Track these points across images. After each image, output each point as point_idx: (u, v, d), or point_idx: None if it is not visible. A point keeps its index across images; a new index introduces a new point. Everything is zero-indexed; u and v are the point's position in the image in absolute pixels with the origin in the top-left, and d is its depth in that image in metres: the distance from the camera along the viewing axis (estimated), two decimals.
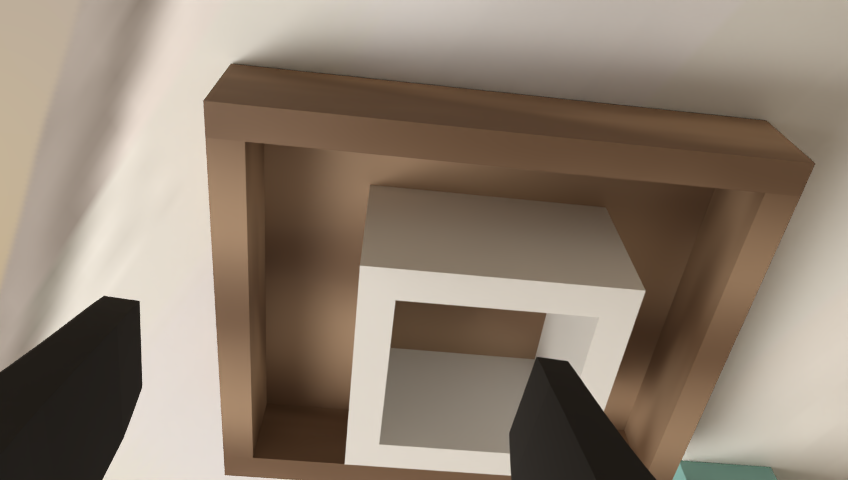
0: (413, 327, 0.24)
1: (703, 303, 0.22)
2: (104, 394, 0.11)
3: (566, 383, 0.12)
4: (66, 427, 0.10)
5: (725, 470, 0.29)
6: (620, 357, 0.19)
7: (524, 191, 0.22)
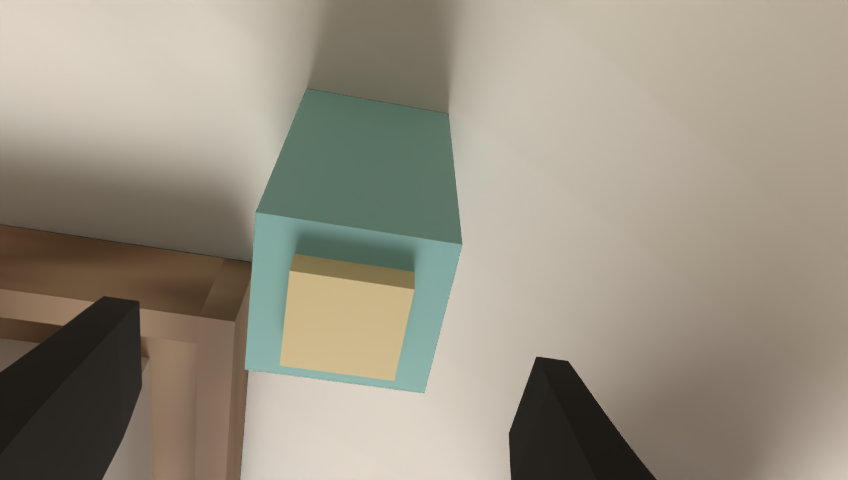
0: None
1: None
2: (104, 394, 0.11)
3: (566, 383, 0.12)
4: (66, 427, 0.10)
5: None
6: None
7: None
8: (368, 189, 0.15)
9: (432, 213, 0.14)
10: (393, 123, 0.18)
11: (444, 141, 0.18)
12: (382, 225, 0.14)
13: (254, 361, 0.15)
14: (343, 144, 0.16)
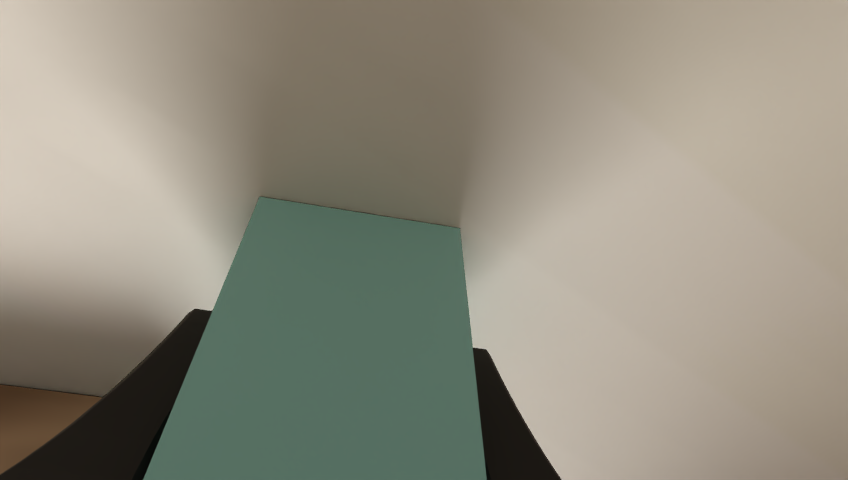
0: None
1: None
2: None
3: (477, 371, 0.11)
4: None
5: None
6: None
7: None
8: (337, 410, 0.09)
9: (442, 460, 0.09)
10: (382, 254, 0.13)
11: (455, 285, 0.12)
12: None
13: None
14: (304, 307, 0.11)
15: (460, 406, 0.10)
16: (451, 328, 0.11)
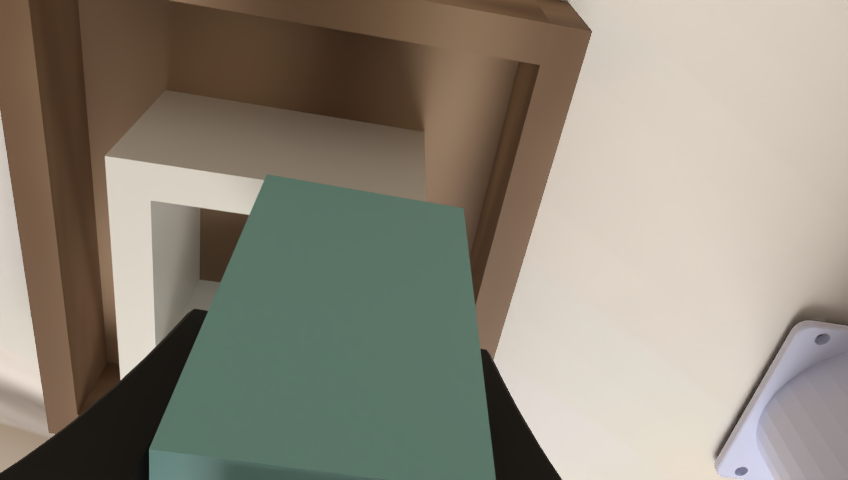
0: None
1: None
2: None
3: None
4: None
5: None
6: (211, 170, 0.16)
7: None
8: (344, 373, 0.09)
9: (447, 421, 0.09)
10: (387, 230, 0.13)
11: (460, 261, 0.12)
12: (364, 458, 0.08)
13: None
14: (311, 277, 0.11)
15: (465, 372, 0.10)
16: (455, 300, 0.11)
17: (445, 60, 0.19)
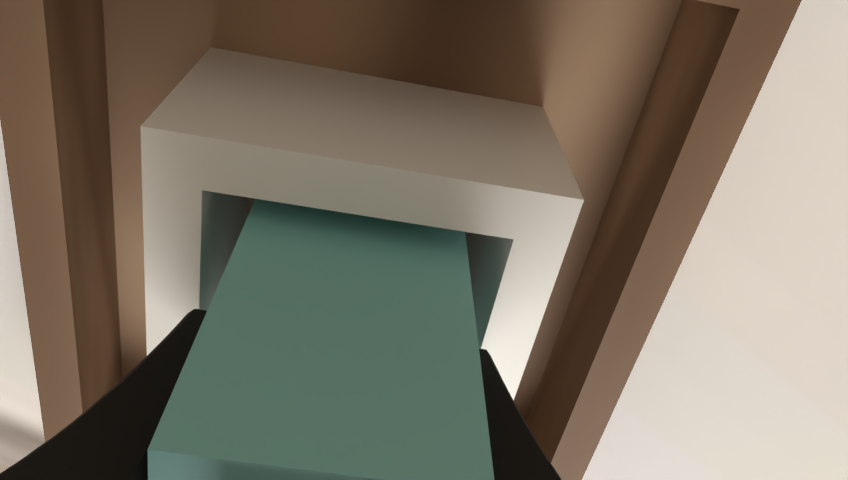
0: None
1: None
2: None
3: None
4: None
5: None
6: (290, 148, 0.11)
7: None
8: (343, 373, 0.09)
9: (445, 421, 0.09)
10: (386, 231, 0.13)
11: (458, 261, 0.12)
12: (363, 459, 0.08)
13: None
14: (310, 278, 0.11)
15: (463, 372, 0.10)
16: (454, 300, 0.11)
17: (580, 11, 0.15)
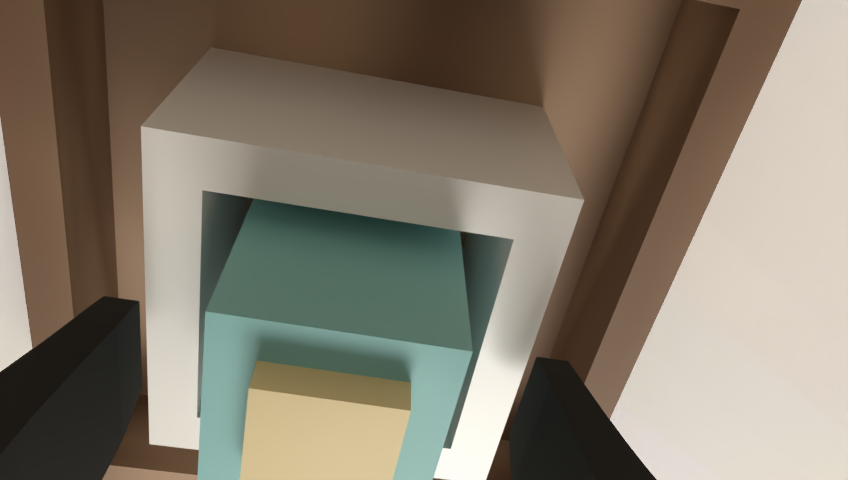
0: None
1: None
2: (104, 394, 0.11)
3: (566, 383, 0.12)
4: (66, 427, 0.10)
5: None
6: (290, 148, 0.11)
7: None
8: (353, 269, 0.12)
9: (434, 304, 0.11)
10: None
11: None
12: (370, 325, 0.11)
13: None
14: None
15: (450, 273, 0.12)
16: None
17: (580, 11, 0.15)
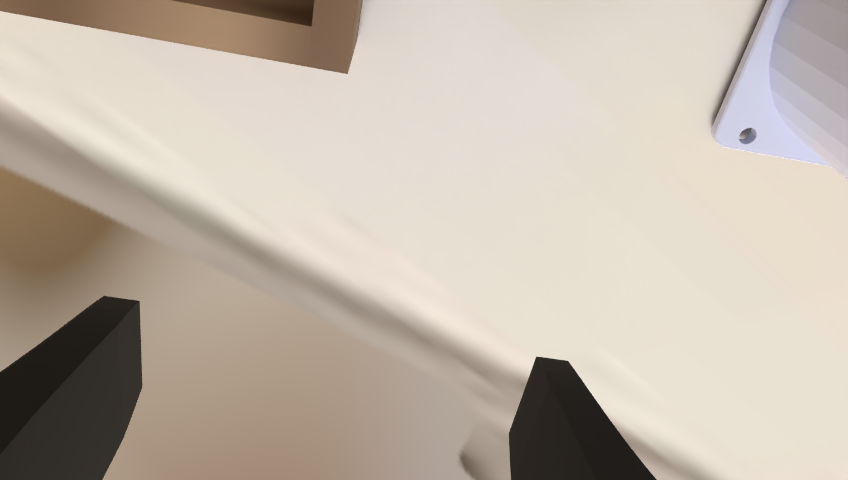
0: None
1: None
2: (104, 394, 0.11)
3: (566, 383, 0.12)
4: (66, 427, 0.10)
5: None
6: None
7: None
8: None
9: None
10: None
11: None
12: None
13: None
14: None
15: None
16: None
17: None
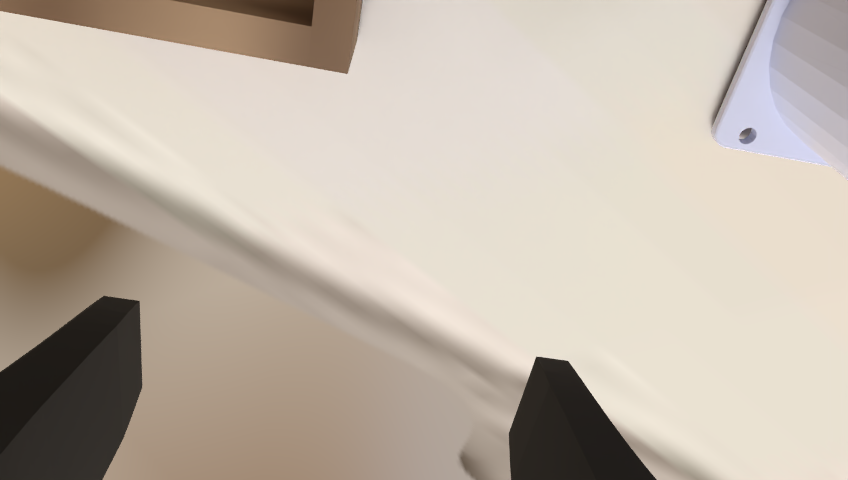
0: None
1: None
2: (104, 394, 0.11)
3: (566, 383, 0.12)
4: (66, 427, 0.10)
5: None
6: None
7: None
8: None
9: None
10: None
11: None
12: None
13: None
14: None
15: None
16: None
17: None
